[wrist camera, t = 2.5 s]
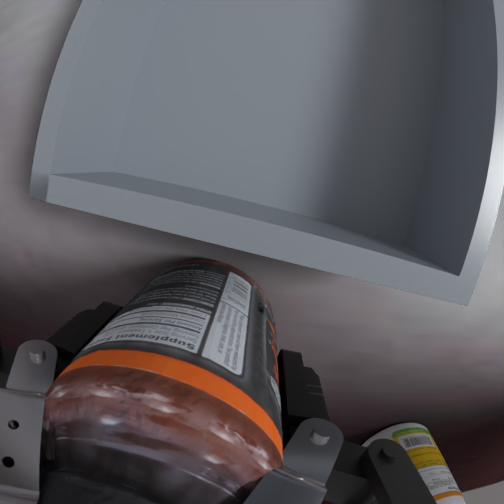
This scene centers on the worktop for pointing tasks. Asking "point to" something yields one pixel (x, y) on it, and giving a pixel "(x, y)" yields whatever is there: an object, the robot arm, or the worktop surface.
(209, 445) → the supplement bottle
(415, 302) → the worktop surface
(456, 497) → the supplement bottle
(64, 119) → the tote
